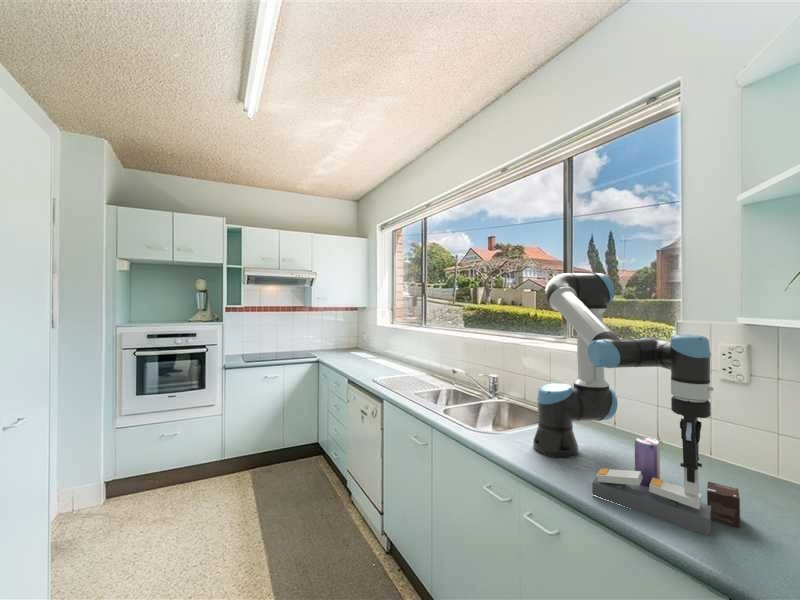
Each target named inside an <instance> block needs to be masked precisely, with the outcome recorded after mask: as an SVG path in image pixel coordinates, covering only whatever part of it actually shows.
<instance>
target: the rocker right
mask: <svg viewBox="0 0 800 600" xmlns="http://www.w3.org/2000/svg"><path fill="white" fill-rule="evenodd" d="M649 492H652V493H655V494H658V495H660V496H663V497H666V498H669V499H671V500H674V501H677V502H680V503H682V504H685V505H688V506H691V507H693V508H696V509H699V508H700V503H702V493H700V492H699V496H695V495H692V494H688V493H685V492H684V486H680V485H677V484H674V483H672V482H667V481H665V480H662V479H661V478H660V479H657V478H652V480H651V483H650V486H649Z"/></svg>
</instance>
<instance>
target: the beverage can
mask: <svg viewBox="0 0 800 600" xmlns="http://www.w3.org/2000/svg"><path fill="white" fill-rule="evenodd" d="M634 471H641V473H642V477H643V479H642V481H641V483H640V485H642V486H645V487H648V488H649V486H650V483H651V480H652V478H657V479H660V480H661V445H660V442H659V441H658V440H657V439H655V438H652V437H650V436H649V437H648V436H636V437H635V440H634Z"/></svg>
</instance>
